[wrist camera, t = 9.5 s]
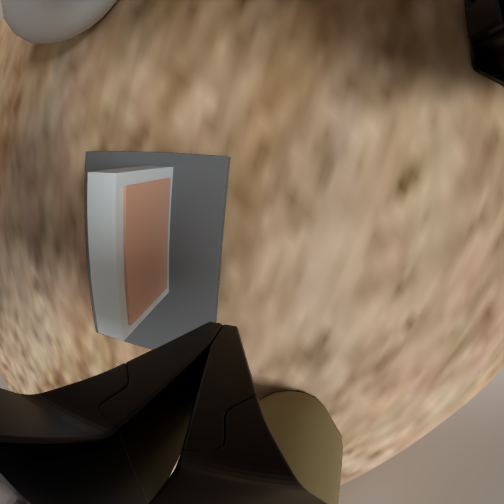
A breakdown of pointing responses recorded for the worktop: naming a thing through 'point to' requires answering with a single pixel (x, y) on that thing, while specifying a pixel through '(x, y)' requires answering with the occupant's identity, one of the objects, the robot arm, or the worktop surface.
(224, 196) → the mat
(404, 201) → the worktop surface
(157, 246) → the tile
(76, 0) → the donut
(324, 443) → the squeeze bottle
